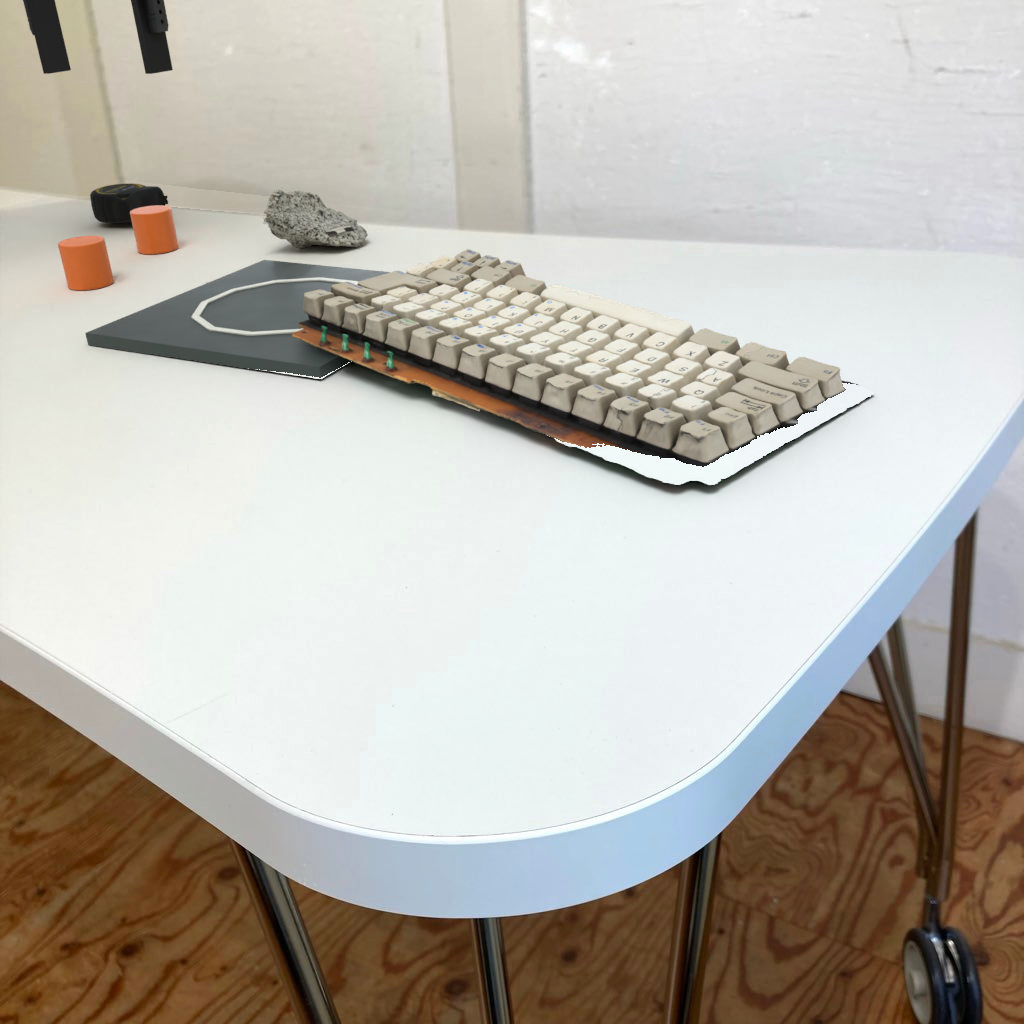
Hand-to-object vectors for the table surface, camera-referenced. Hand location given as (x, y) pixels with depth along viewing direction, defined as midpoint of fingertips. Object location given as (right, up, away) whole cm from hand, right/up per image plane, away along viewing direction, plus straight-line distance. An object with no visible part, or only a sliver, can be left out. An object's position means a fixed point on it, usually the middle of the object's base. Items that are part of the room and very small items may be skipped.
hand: (107, 72), depth 101 cm
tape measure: (-4, -9, +19) cm, 22 cm away
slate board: (+21, -26, -15) cm, 36 cm away
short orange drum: (+3, -15, +7) cm, 17 cm away
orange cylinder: (0, -21, -4) cm, 21 cm away
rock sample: (+20, -15, +6) cm, 26 cm away
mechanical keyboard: (+41, -32, -29) cm, 60 cm away
